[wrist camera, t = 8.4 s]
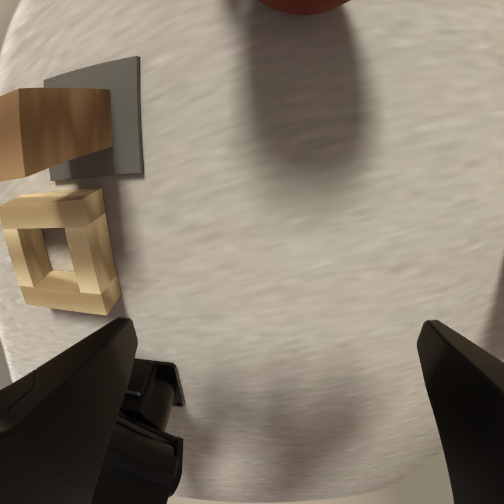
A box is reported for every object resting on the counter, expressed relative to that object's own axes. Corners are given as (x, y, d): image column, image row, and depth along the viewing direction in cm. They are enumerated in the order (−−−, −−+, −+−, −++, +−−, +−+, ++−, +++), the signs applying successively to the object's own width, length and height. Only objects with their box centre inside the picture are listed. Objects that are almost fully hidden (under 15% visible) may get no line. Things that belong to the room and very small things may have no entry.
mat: (143, 171, 20) (141, 172, 19) (54, 179, 20) (50, 181, 20) (139, 57, 16) (137, 56, 16) (47, 80, 17) (43, 80, 16)
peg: (112, 146, 19) (25, 177, 10) (67, 152, 19) (-22, 186, 11) (110, 89, 17) (18, 88, 9) (63, 99, 17) (-30, 110, 9)
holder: (121, 294, 24) (107, 315, 22) (43, 286, 25) (26, 304, 22) (102, 187, 20) (81, 199, 18) (20, 195, 21) (-2, 206, 18)
